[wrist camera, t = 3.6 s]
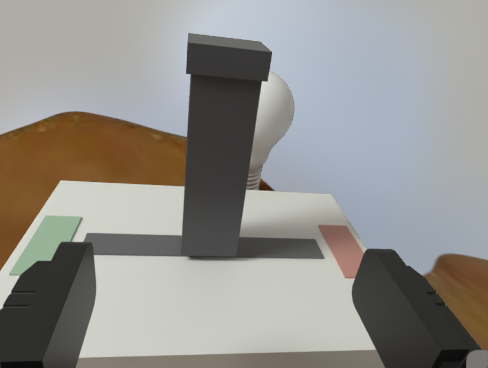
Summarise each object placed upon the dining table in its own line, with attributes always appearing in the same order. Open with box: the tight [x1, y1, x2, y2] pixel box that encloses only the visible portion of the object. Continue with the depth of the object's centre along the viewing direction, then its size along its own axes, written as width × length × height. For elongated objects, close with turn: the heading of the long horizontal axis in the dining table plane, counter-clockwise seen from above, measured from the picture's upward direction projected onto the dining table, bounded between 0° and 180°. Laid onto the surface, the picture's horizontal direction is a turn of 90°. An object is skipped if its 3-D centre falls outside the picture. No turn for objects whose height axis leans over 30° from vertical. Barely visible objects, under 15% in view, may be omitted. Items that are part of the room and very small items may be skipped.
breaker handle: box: [181, 33, 272, 257], centre depth 18 cm, size 3×3×11 cm
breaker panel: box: [0, 181, 385, 368], centre depth 22 cm, size 20×14×3 cm
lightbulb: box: [246, 71, 294, 190], centre depth 31 cm, size 6×6×11 cm
